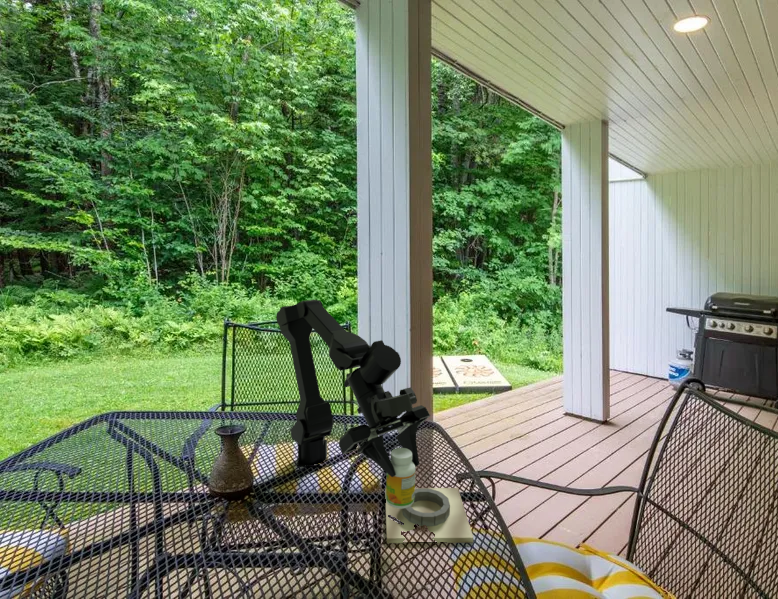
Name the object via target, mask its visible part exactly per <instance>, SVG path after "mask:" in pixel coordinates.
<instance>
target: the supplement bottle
mask: <svg viewBox="0 0 778 599" xmlns="http://www.w3.org/2000/svg"><path fill="white" fill-rule="evenodd" d="M390 460H391V463H392V465H393V467H394V470H395V473H396V475H395V476H394V477H391V476H390V475H389V474H388V473H387V472H386V480H385V483H386V485H385V486H386V487H385V488H386V501H387V503H388V504H389V505H390V506H392V507H394V508H399V509H403V508H407V507H409V506H411V505H412V504H413V503H414V497H415V488H416V467H415V465H414V463H413V462H412V452H411V451H410V450H409V449H406V448H402V447H396V448H393V449H392V450H391V452H390Z"/></svg>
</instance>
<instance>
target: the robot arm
mask: <svg viewBox="0 0 778 599" xmlns="http://www.w3.org/2000/svg"><path fill="white" fill-rule="evenodd" d="M275 319H276V322H277V324H278V326H279V329H280V333H281V334H282V336H283V337H284V338H285V339H286V340H287V341H288V343H289V346H290V352H291V357H292V361H293V366H294V367H293V368H294V373H295V378H296V384H297V388H298V394H299V404H298V405H297V410H296V411H295V415H296V416H295V417H296V422H295V423H294V424H293V425H292V427H291V428H290V436H291V439H292V440H293V441H294V442H296V443H297V460H296V466H297V467H312V466H311V465H314V464H318V463H321V462H323V461H324V460H325V461H326V460H327V457H328V440H326V437H328V436H331V434H332V432H333V427H334V421H335V420H334V415H333V413H332V407H331V404H330V401H327V402H326V401H325V400H324V398H323V397H322V395H321V393H320V387H319V381H318V377H317V372H316V367H315V361H314V360H315V359H314V356H313V351H312V346H311V340H310V336H311V334H312V332H313V331H314V332H315V333H316V334H317V335H318V336H319V337H320V338H321V340H323V342H324V343H325V344H326V345H327V347H328V357H329V358H330V360H331V362H332V363H333V365H334V366H335V368H336V369H337V370H338V371H340V372H341V371H346V370H351V369H354V368H355V369H354V370H353V371H352V372H349V373H346V374H345V376H346V378H345V380H344V385H343V386H344V388H348V387H350V388H351V391H352V393H353V396H354V397H355V399H356V402H357V404H358V406H359V407H357V409H356V411H357V414H359V415H360V414H362V415H363V417H364V420H365V421H366V424H365V423H363V424H359V425H357V426H354V427H353V426H352V427H351V428H348V430H346V432H344V434H343V435H342V436H340V437H339V440H338V443H339V444H338V446H339V449H340V452H341V454H342V455H345V454H348V453H350V452H353V451H356V450H357V448H358V447H359V449H358V450H357V454H363V455H364V456H366V457H367V458H369V459H370V460H372V462H374V463H375V464H377V465H378V466H379V467H380V468H381V469H382V470H384V472H386V474H387V473H388V474H389V475H390V476H391V477H394V476H395V475H396V473H395V470H394V467H393V465H392V463H391V457H390V456H389V454H388V452H387V450H386V448H385V446H384V444H385V443H384V434H387V433H390V432H393V431H395V430H396V431H397V432H398V435H396V437H395V438H396V440H397V442H398V444H399V445H400V446H401V448H406V449H409V450H410V451H411V452H412V462H413V463H414V465H415V468H416V467H418V466H419V465H420V458H419V453H418V445H417V431H418V427H420V426H421V424H422V423H424V422H425V421H427V420H428V419H429V418H430V417H431V414H430V412H429V411H428V408H427V407H426V406H423V405H417V406H415V407H413V405H415V404H417V401H418V398H417V395H416V393H415V391H414V390H413V388H412V387H406V388H403V389H400V390H399V394H398V395H395V396H393V394H392V393H391V392H390V391H389V390H387V391H385V389H384V388H383V384H385V383H386V382H387V380H388V379H390V377H392V376H393V375H394V373H395V372H396V371H398V369H399V368H400V366H401V364H402V360H401V356H400V353H399V352H398V351H396V350H395V349H394V348H393V347H391V346H390V345H387V344H385V343H384V341H383V340H382V339H381V340H376V341H373V342H372V344H371V345H369V344H368V342H367V341H366V340H365V339H364V338H362V337H361V336H359V335H358V334H355V333H354V332H349V331H347V330H346V329H344V327H342V325H341V324H340V323H339V322H338V321H337V320H336V319H335V317H333V316H332V314H330V312H328V310H327V309H325V307H324V306H323V302H322V301H321V300H320V299H310V300H309V299H308V300H302V301H300V302H297V303H295V304H293V305H286V306H281V307H280V308H279V310H278V311H277V312H276V318H275ZM325 461H324V462H325Z"/></svg>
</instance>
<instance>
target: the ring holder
mask: <svg viewBox="0 0 778 599" xmlns="http://www.w3.org/2000/svg"><path fill="white" fill-rule="evenodd" d="M384 497H385V499H386V487H385V488H384ZM388 515H391V516H393V517H395V518H396V519H398V520H400V521H401V522H403V523H404V525H401V524H398V523H397V522H395V521H393V520H391V519H390V518H389V517H388ZM415 524H418V525H419V526H423V525H426V526H427V528H428V530H429V531H430V532H433V533H434V534H435V537H434V538H432V540H433V539H434V540H435V541H437V543H436V544H441V543H440V542H447V543H446V544H448V543H449V544H451V543H452V544H453V543H455V544H456V543H458V544H459V543H466V544H467V543H474V535H473V531H472V529H471V525H470V523H469V519H468V516H467V514H466V510H465V506H464V502H463V501H462V497H461V494H460V490H459V487H420V488H419V487H415V497H414V503H413V504H412V505H411V506H409V507H407V508H403V509H399V508H394V507H392V506H390V505H389V504H388V503H387V501H386V503H385V525H386V528H385V529H386V530H385V531H386V532H385V533H386V544H404V543H403V541H404V540H405V539H406V538H405V537H404V536H403V535H401V531H404V532H407V531H410V530H413V529H415V527H414V525H415Z"/></svg>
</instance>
